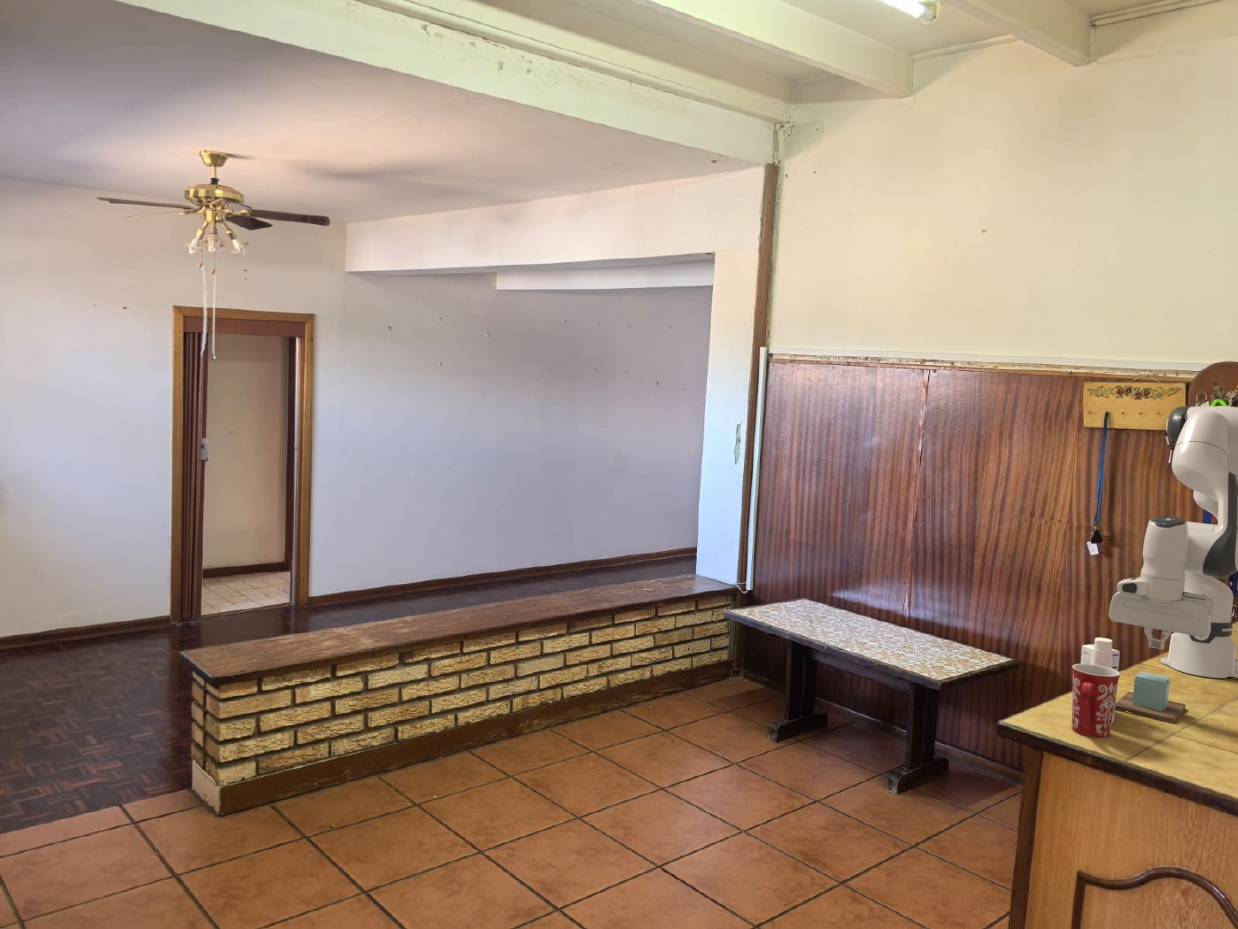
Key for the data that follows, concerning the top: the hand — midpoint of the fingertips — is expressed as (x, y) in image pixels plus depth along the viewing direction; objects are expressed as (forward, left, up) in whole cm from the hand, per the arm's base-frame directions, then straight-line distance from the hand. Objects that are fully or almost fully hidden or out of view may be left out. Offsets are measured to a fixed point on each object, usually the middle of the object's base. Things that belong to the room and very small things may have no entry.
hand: (1156, 647), depth 218 cm
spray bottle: (+18, -7, -15) cm, 24 cm away
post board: (0, 0, -14) cm, 14 cm away
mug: (+29, -6, -15) cm, 33 cm away
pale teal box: (0, 0, -13) cm, 13 cm away
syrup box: (+11, -9, -15) cm, 20 cm away
